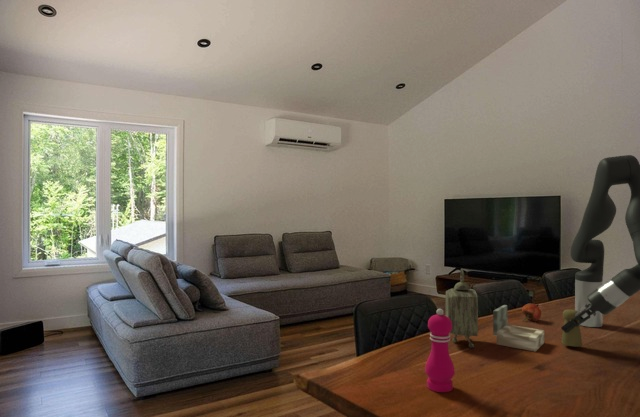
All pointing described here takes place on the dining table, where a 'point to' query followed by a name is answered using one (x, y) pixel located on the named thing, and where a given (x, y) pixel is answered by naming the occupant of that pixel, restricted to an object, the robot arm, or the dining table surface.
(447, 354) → the pepper mill
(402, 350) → the dining table surface
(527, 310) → the pomegranate
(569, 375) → the dining table surface
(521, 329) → the stand
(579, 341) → the cork
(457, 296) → the tabletop clock
